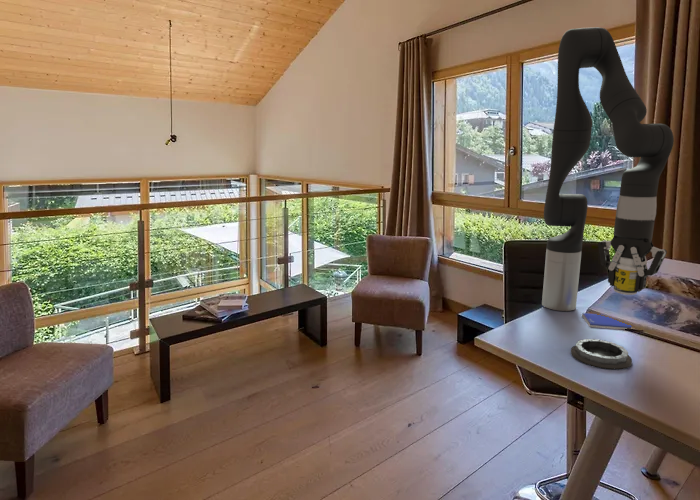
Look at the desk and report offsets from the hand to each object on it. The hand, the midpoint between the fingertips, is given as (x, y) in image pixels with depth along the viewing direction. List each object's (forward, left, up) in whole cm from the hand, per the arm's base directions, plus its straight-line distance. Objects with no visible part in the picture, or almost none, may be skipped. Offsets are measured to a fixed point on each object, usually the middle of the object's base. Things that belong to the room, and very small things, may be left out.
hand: (625, 287), depth 105 cm
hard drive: (-13, +4, -15) cm, 20 cm away
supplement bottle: (0, 0, -1) cm, 1 cm away
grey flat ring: (+8, -7, -14) cm, 18 cm away
